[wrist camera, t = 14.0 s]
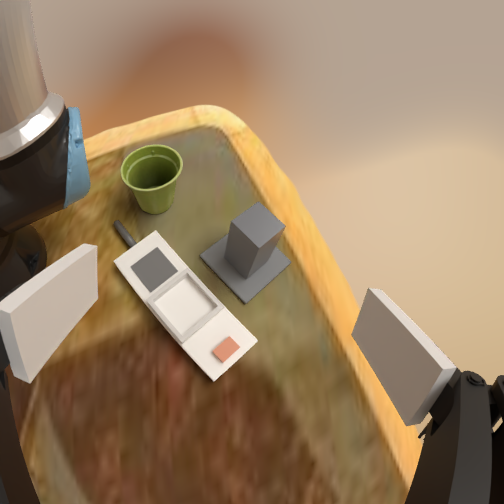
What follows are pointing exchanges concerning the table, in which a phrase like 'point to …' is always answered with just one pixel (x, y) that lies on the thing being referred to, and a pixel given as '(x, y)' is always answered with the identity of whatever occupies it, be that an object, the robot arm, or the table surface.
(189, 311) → the white slab
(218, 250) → the pad
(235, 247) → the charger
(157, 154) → the plant pot
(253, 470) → the table surface
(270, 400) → the table surface
